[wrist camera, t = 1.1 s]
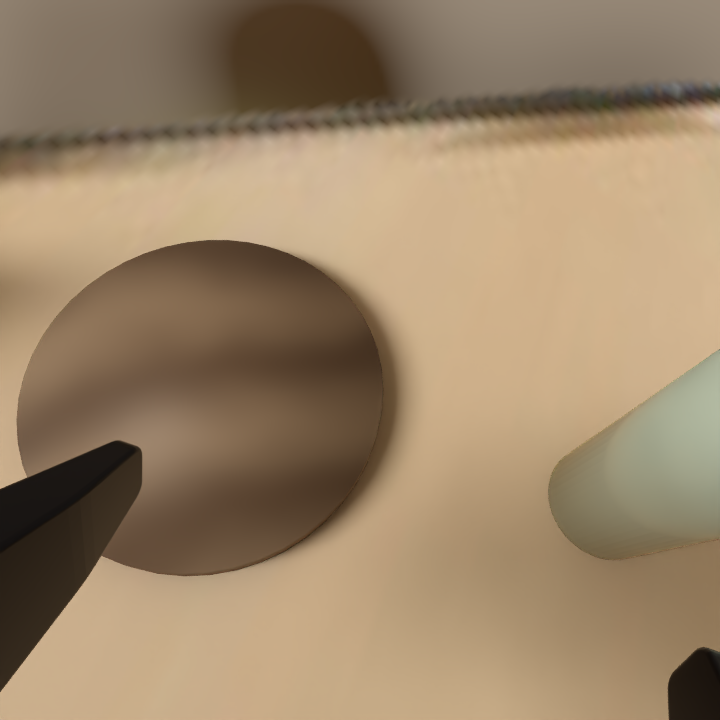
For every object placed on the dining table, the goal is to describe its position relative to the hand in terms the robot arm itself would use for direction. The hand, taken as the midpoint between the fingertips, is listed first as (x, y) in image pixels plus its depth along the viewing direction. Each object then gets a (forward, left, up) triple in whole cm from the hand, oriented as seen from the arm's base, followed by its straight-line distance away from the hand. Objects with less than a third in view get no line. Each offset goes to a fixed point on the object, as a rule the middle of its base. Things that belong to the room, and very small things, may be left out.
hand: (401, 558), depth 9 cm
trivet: (+11, +3, -15) cm, 19 cm away
